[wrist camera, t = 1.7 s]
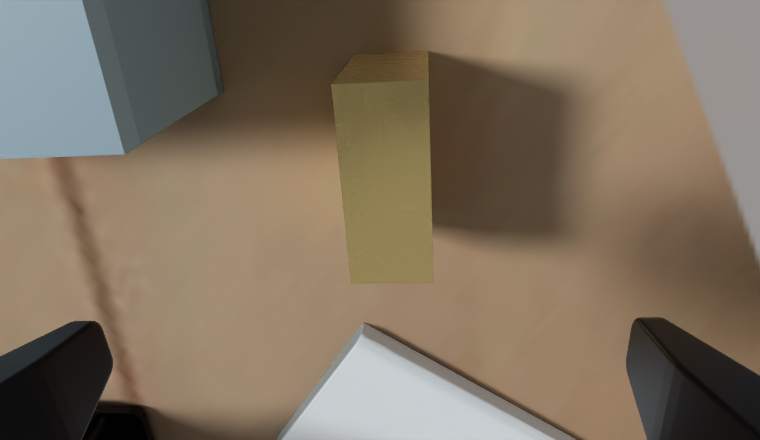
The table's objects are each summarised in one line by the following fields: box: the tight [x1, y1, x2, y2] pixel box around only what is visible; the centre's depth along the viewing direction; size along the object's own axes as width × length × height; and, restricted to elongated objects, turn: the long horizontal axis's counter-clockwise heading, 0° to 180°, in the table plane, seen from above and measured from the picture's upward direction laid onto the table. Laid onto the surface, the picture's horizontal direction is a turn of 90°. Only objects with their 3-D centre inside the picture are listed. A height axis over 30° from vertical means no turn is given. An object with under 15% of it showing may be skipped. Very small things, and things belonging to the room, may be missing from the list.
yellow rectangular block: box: [331, 51, 433, 284], centre depth 17 cm, size 6×2×5 cm, turn 3°
